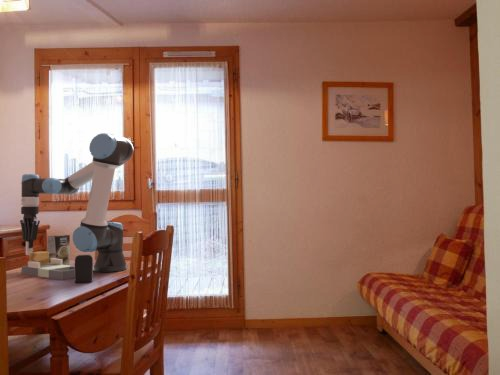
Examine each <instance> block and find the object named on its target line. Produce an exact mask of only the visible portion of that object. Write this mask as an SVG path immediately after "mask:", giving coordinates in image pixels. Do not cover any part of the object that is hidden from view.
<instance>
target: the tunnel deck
mask: <svg viewBox="0 0 500 375" xmlns="http://www.w3.org/2000/svg"><path fill="white" fill-rule="evenodd" d="M21 275H27V276H28V275H29V276H33V277H34V276H35V277H41V278H46V279H52V280H53V279H54V280H61V281H65V280H70V279H75V265H70V264H69V265H63V259H55V258H51V261H50V263H49V265H43V266H40V262H32V261H29V260H28V261H27V265H21Z"/></svg>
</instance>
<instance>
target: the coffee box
mask: <svg viewBox="0 0 500 375" xmlns="http://www.w3.org/2000/svg"><path fill="white" fill-rule="evenodd" d="M70 235H71V234H57V235H47V241H46V242H47V243H46V244H47V245H46V252H49V263H50V261H51V258H55V259H63V265H70V249H71V248H70V245H71V244H70V243H71V239H70V238H71V236H70Z"/></svg>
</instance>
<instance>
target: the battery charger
mask: <svg viewBox="0 0 500 375" xmlns="http://www.w3.org/2000/svg"><path fill="white" fill-rule="evenodd" d="M74 266H75V278H74V283H75V284H85V283H91V282H93V272H94V258H93V255H92V254H90V253H89V254H88V253H87V254H78V255H76V256H75V258H74Z"/></svg>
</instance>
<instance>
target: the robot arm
mask: <svg viewBox="0 0 500 375" xmlns="http://www.w3.org/2000/svg"><path fill="white" fill-rule="evenodd" d="M89 152H90V155H91V156H92V161H91V162H90V163H88V164H87V165H85V166H83V167H81V168H80V169H79V170H77V171H76V172H74V173H72V174H70V175H69V176H67V177H66V178H54V177H45V178H43V177H42V178H40V175H39V174H35V173H32V174H31V173H30V174H29V173H28V174H27V173H25V174H22V176H21V182H20V184H21V200H20V201H21V203H20V204H21V208H20V214H22V215H23V218H22V219H20V220H19V222H20V226H21V228H20V229H21V234H22V235H21V236H22V240H24V241H25V256H29V253H31V252H34V241H36V240H37V239H38V238H37V237H38V231H39V226H40V225H39V224H41V223H40V222H41V221H40V220H38V219H37V215H39V214H40V213H39V211H40V209H39V208H40V207H39V205H40V195H41V194H43V195H46V194H47V195H74V194H77V193H78V191H79V190H80V188H81V187H83V186H85V185H87V184H88V183H90V182H91V181H92V182H91V187H90V191H89V196H88V200H87V201H88V202H87V207H86V213H85V216H84V218H82V219H80V226H78V227H76V229H74V231H73V232H72V243H73V245H74V246H75V249H77V250H78V251H79V252H81V253H82V252H83V253H93V252H96V251H97V257H96V260H95V263H94V264H93V272H97V273H113V272H120V271H121V272H122V271H125V270H127V268H128V267H127V265H128V264H127V261H126V257H125V256H124V225H123V224H122V223H121V222H116V221H107V220H106V217H107V212H108V206H109V202H110V197H111V192H112V186H113V181H114V176H115V172H116V171H115V170H116V169H118V168H120V167H121V166H123V165H124V164H126V163H127V162H129V161H130V160H131V159H132V157H133V156H134V146H133V144H132V142H131V141H130V140H129V139H128V138H126V137H124V136H118V135H115V134H111V133H105V132H103V133H101V132H100V133H99V134H97V135H95V136H94V137H93V138H92V139H91V141H90V143H89Z"/></svg>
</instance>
